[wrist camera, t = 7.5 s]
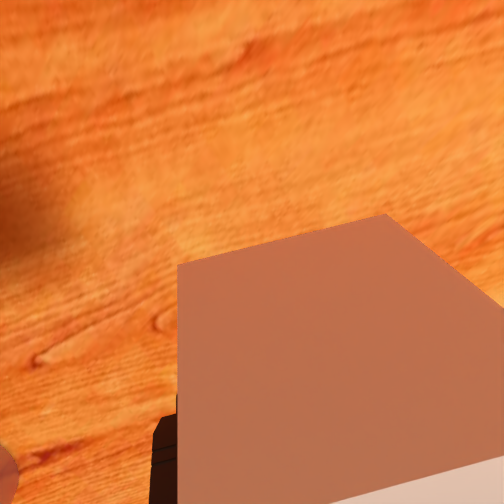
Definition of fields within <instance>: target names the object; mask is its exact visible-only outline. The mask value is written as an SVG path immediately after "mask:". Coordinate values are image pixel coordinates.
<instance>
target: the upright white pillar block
mask: <svg viewBox="0 0 504 504" xmlns="http://www.w3.org/2000/svg"><path fill="white" fill-rule="evenodd" d="M177 303H178V504H504V308H502V307H501V306H500V305H499V304H497V303H496V302H495V301H494V300H492V299H491V298H490V297H489V296H487V295H486V294H485V293H484V292H482V291H481V290H480V289H479V288H477V287H476V286H475V285H474V284H472V283H471V282H470V281H469V280H468V279H466V278H465V277H464V276H463V275H461V274H460V273H459V272H458V271H456V270H455V269H454V268H453V267H451V266H450V265H449V264H448V263H446V262H445V261H444V260H443V259H441V258H440V257H439V256H438V255H436V254H435V253H434V252H433V251H432V250H430V249H429V248H428V247H427V246H425V245H424V244H423V243H422V242H420V241H419V240H418V239H417V238H415V237H414V236H413V235H412V234H410V233H409V232H408V231H407V230H405V229H404V228H403V227H402V226H400V225H399V224H398V223H397V222H395V221H394V220H393V219H392V218H391V217H389V216H388V215H387V214H383V215H379V216H374V217H370V218H366V219H362V220H358V221H354V222H350V223H346V224H342V225H338V226H334V227H330V228H326V229H322V230H317V231H313V232H309V233H305V234H301V235H297V236H293V237H289V238H285V239H281V240H277V241H273V242H269V243H265V244H261V245H256V246H252V247H248V248H244V249H240V250H236V251H232V252H228V253H224V254H220V255H216V256H212V257H208V258H204V259H199V260H195V261H191V262H187V263H183V264H179V265H177Z"/></svg>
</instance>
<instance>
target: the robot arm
mask: <svg viewBox="0 0 504 504" xmlns="http://www.w3.org/2000/svg"><path fill="white" fill-rule="evenodd" d="M152 452H153V453H152V460H151V465H152V467H151V476H150V492H149V504H178V393H177V395H176V414H173V415H169V416H165V417H162V418H161V419H160V421H159V423H158V425H157V427H156V429H155V431H154V433H153V444H152ZM18 481H19V473H18V469H17V465H16V463H15V461H14V460H13V458H12V456H11V455H10V454H9V453H8V452H7V451H6V450H5V449H4V448H3V447H2V446H1V445H0V504H11V503H12V500H13V498H14V495H15V492H16V489H17V486H18Z"/></svg>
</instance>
